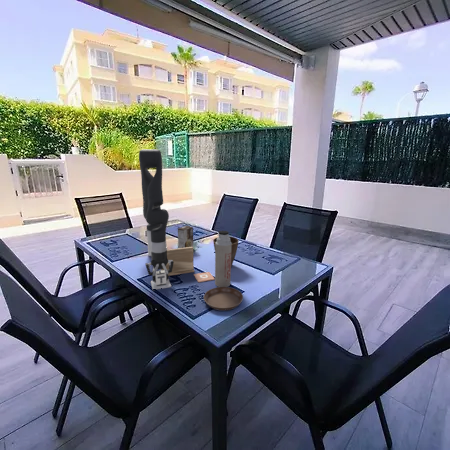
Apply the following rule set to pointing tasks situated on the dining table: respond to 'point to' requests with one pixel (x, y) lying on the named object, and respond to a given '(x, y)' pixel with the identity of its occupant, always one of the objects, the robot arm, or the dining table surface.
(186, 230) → the coffee box
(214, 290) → the plant saucer
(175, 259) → the screen
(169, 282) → the pad
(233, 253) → the plant pot
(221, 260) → the thermos bottle
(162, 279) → the letter cube
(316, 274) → the dining table surface
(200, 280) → the pad
